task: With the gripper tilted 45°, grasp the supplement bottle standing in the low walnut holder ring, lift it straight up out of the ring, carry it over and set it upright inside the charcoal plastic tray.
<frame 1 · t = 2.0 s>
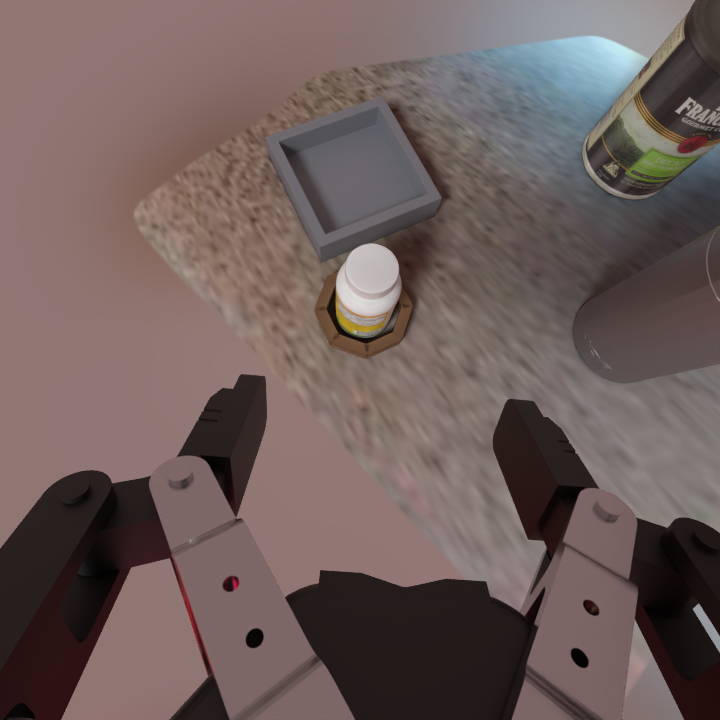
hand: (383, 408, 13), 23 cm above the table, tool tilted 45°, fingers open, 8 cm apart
holder ring: (363, 312, 37), on the table
coffee can: (624, 161, 44), on the table
supplement bottle: (362, 313, 38), resting in holder ring
tray: (351, 187, 40), on the table
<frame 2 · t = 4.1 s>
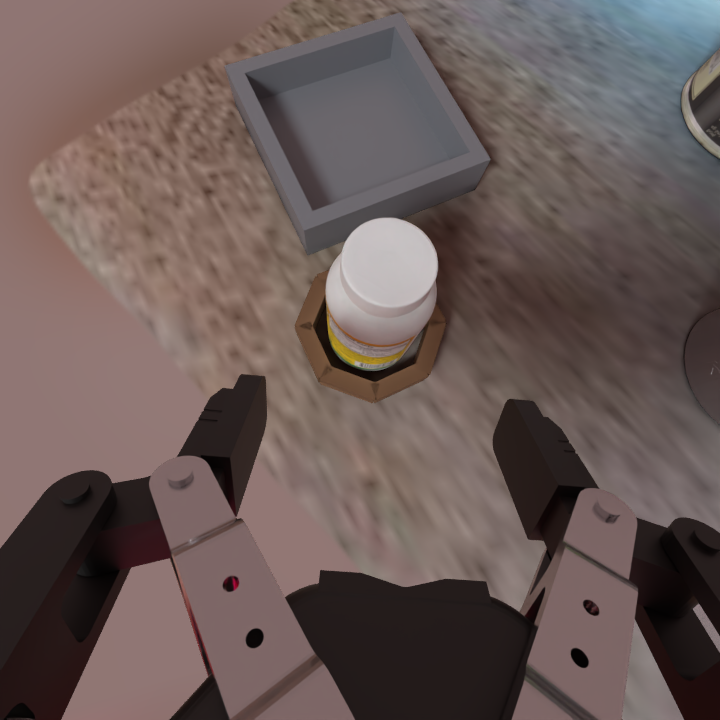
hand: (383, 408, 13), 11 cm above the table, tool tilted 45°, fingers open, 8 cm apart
holder ring: (369, 331, 25), on the table
supplement bottle: (369, 332, 25), resting in holder ring
tray: (354, 147, 28), on the table
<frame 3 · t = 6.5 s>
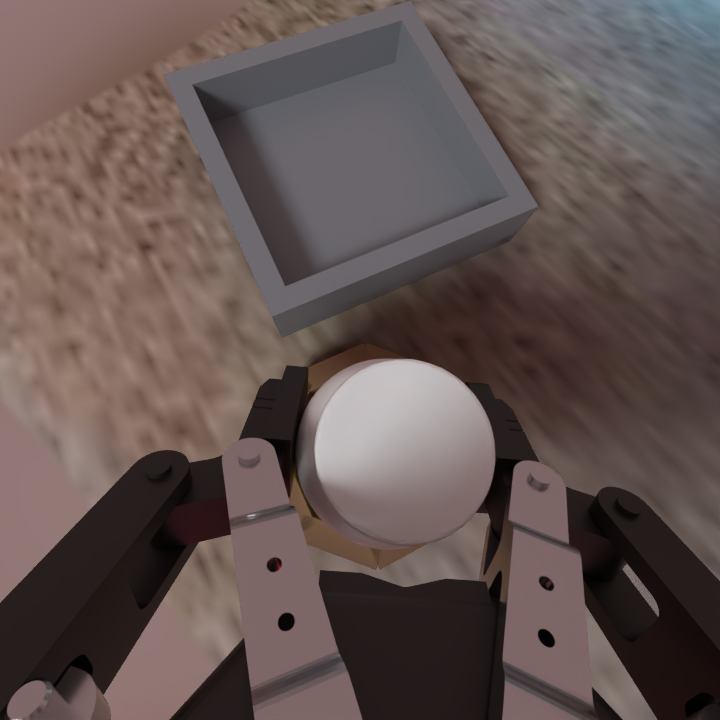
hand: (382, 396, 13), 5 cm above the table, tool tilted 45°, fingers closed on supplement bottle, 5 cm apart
holder ring: (368, 448, 18), on the table
supplement bottle: (367, 448, 18), resting in holder ring, touching gripper
tray: (347, 183, 21), on the table
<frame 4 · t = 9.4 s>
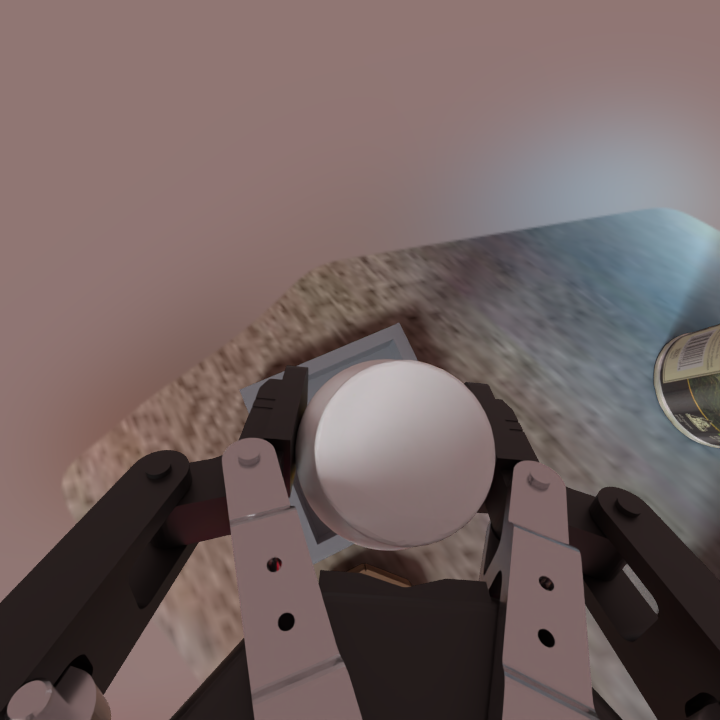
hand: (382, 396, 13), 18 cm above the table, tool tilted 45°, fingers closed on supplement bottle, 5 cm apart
holder ring: (366, 632, 28), on the table
coffee can: (706, 388, 34), on the table
supplement bottle: (367, 449, 18), point 13 cm above the table, touching gripper
tray: (355, 436, 31), on the table
when the fingers open (6 cm above the table, at t = 12.2 s): supplement bottle stays where it is, resting on tray.
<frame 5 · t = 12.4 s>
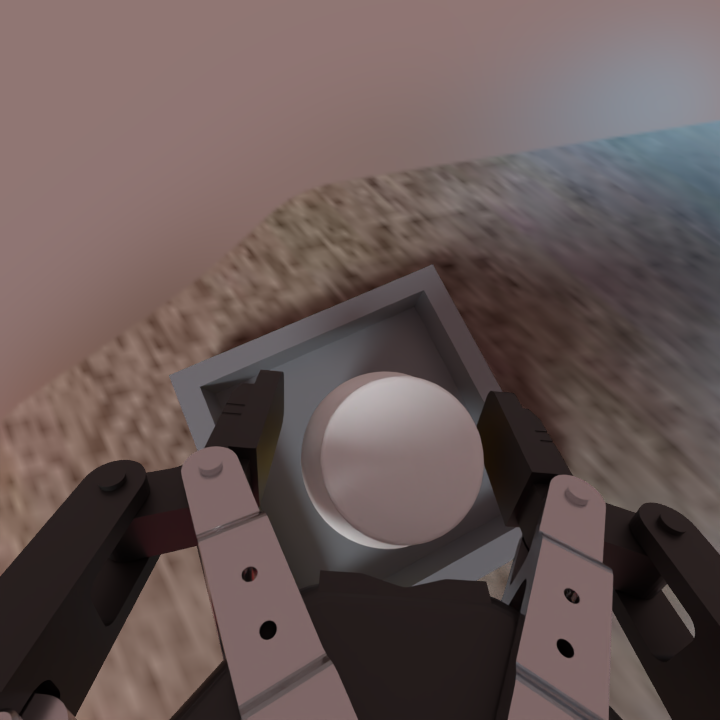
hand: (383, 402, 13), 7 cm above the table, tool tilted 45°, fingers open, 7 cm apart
supplement bottle: (367, 453, 19), point 1 cm above the table, touching tray
tray: (364, 448, 19), on the table
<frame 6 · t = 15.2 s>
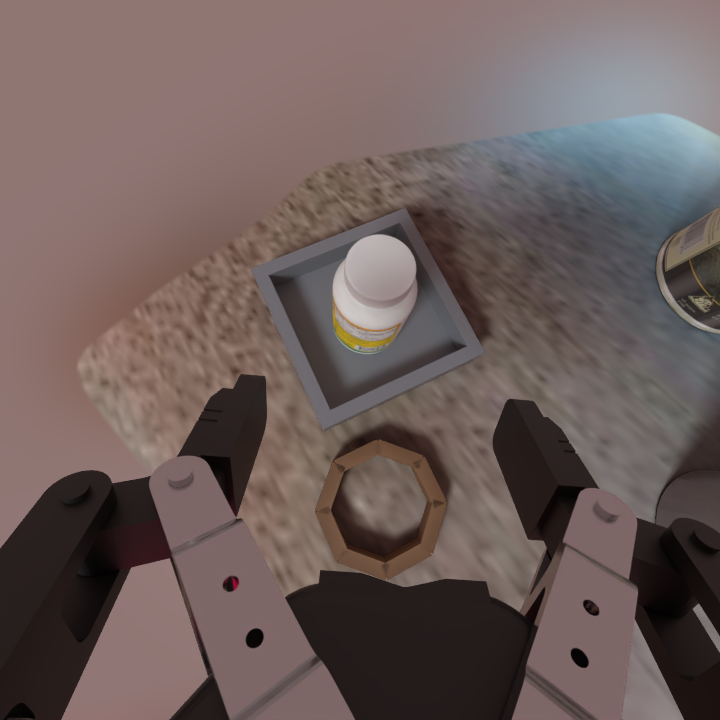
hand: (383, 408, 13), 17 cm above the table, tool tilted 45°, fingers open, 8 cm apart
holder ring: (379, 503, 28), on the table
coffee can: (708, 280, 34), on the table
supplement bottle: (366, 323, 31), point 1 cm above the table, touching tray
tray: (364, 323, 31), on the table
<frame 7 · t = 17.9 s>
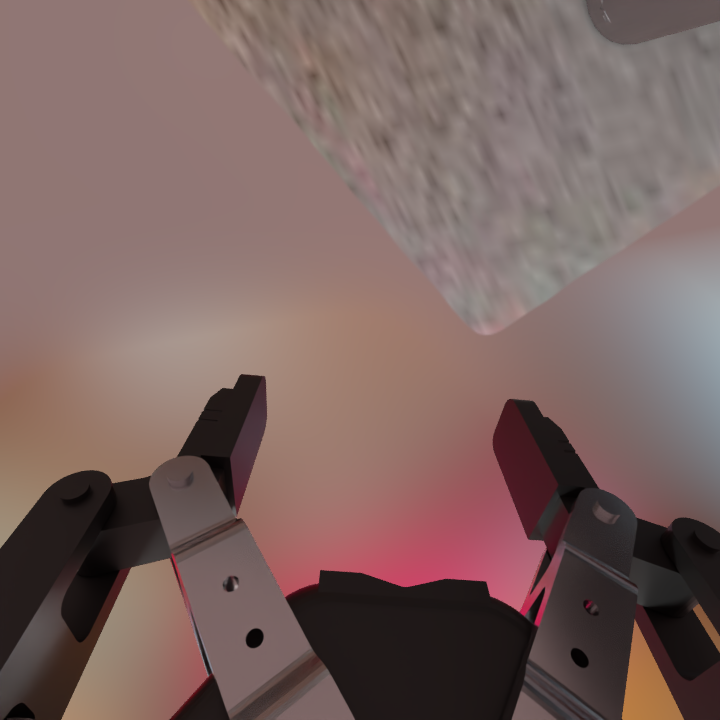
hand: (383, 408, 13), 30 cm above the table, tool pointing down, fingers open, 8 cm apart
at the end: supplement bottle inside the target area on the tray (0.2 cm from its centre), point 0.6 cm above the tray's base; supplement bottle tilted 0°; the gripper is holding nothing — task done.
